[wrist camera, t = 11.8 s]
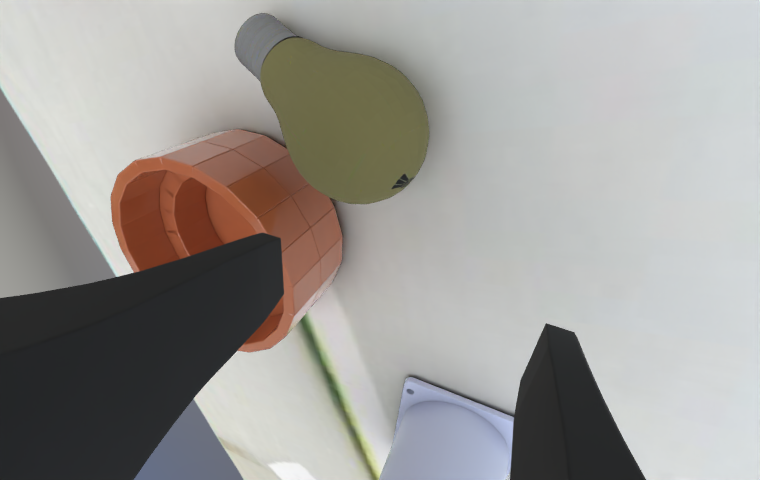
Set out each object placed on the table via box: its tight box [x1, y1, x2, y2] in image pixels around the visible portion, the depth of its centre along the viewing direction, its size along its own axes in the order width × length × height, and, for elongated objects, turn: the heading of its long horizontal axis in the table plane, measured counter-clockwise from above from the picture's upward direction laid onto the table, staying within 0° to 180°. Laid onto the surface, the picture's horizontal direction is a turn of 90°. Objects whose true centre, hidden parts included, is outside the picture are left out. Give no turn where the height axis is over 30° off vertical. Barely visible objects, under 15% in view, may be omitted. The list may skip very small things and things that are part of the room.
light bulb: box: [235, 13, 429, 204], centre depth 16 cm, size 6×6×10 cm
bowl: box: [111, 129, 343, 352], centre depth 22 cm, size 11×11×6 cm
